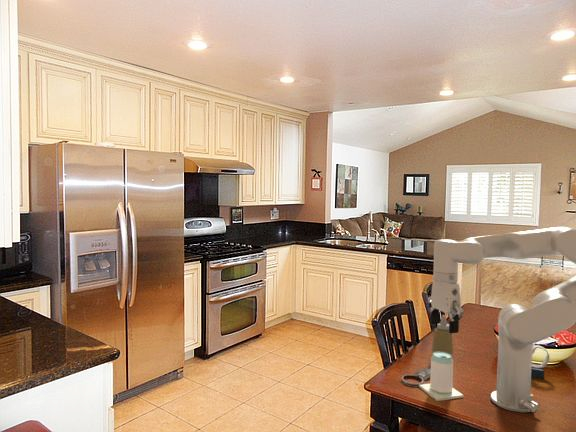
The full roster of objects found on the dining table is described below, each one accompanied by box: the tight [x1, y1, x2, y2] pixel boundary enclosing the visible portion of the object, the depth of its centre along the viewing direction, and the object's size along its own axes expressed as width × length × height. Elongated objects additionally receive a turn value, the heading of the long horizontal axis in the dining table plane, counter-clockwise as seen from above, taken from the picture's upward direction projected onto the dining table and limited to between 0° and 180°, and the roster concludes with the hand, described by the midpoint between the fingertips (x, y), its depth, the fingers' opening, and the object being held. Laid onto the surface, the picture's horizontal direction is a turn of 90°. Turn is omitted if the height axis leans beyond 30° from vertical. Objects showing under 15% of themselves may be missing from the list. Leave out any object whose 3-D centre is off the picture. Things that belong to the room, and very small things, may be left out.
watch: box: [531, 344, 551, 380], centre depth 156 cm, size 6×8×11 cm
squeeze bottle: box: [431, 314, 454, 358], centre depth 169 cm, size 8×8×18 cm
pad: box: [418, 383, 464, 402], centre depth 142 cm, size 10×10×1 cm
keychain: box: [400, 366, 431, 388], centre depth 152 cm, size 8×19×2 cm, turn 129°
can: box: [429, 352, 454, 394], centre depth 141 cm, size 7×7×12 cm
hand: (444, 328), depth 140 cm, fingers open, 9 cm apart
